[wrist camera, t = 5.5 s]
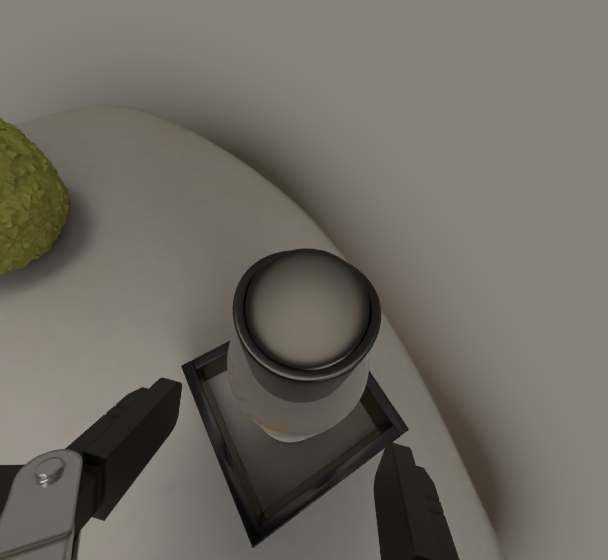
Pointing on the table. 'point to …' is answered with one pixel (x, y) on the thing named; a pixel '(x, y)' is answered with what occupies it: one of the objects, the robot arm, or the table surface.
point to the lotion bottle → (301, 341)
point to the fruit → (27, 200)
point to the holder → (314, 487)
